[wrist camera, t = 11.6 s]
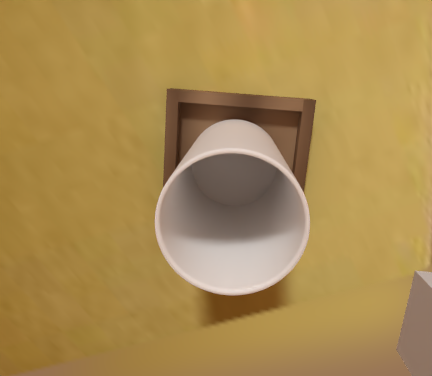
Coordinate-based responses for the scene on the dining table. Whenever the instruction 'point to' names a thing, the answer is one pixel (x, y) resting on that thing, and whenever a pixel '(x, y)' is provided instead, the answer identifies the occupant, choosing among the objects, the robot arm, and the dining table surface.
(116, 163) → the dining table surface
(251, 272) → the cup
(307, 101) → the square wooden tray
